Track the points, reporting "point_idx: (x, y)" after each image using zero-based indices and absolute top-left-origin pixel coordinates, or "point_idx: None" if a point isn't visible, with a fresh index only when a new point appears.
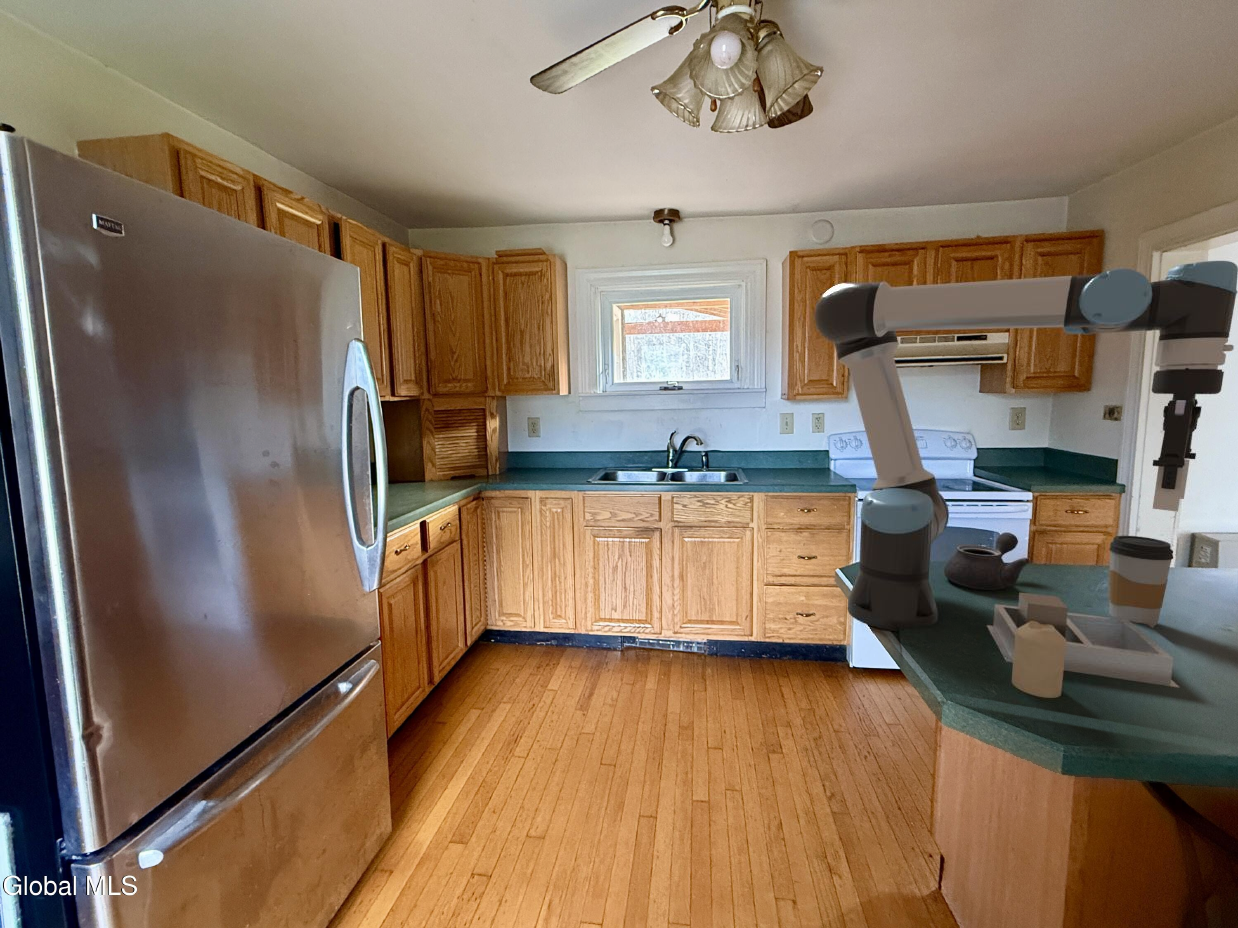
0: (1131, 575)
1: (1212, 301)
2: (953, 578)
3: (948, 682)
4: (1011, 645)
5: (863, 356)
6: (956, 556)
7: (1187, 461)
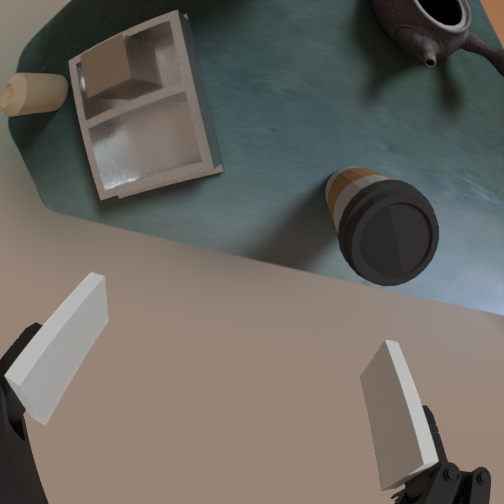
0: (339, 200)
1: None
2: None
3: (43, 38)
4: None
5: None
6: None
7: (381, 484)
